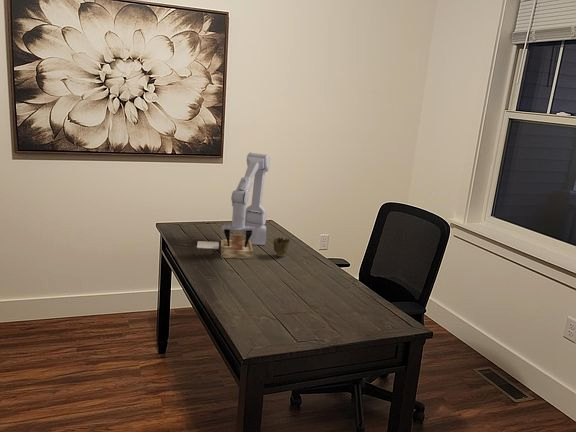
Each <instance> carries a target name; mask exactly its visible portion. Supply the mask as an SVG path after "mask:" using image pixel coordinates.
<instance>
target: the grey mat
mask: <svg viewBox="0 0 576 432" xmlns="http://www.w3.org/2000/svg"><path fill="white" fill-rule="evenodd" d="M219 244H220V242H219V241H203V240H202V241H201V240H200V241H199V240H197V244H196V248H197V249H203V250H204V249H207V250H208V249H210V250H220V249H219V248H220V247H219V246H220V245H219Z"/></svg>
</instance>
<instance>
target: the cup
mask: <svg viewBox="0 0 576 432" xmlns="http://www.w3.org/2000/svg"><path fill="white" fill-rule="evenodd" d="M289 246H290V238H289V239H288V238H285V239H284V238H283V237H275V238H273V250H274V252H275V253H276V256H277V257H278V258H284V257H285V254H286V253H287V252H288V250H289Z"/></svg>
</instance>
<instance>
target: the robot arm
mask: <svg viewBox="0 0 576 432" xmlns="http://www.w3.org/2000/svg"><path fill="white" fill-rule="evenodd" d="M270 162H271V158H270V155H269V154H268V153H267V154H263V153H262V154H261V153H254V152H248V154H247V155H246V165H247V168H246V170H245V171H246V172H245V174H244V177H241V178H240V180H239V183H238V185H237V187H236V189H235V190H233V191H232V192H231V193H232V194H231V197H230V198H231V199H230V201H231V206H232V219H231V224H227V225H226V224H224V225H221V231H222V232H223V234H224V235H225V238H226V239H225V240H227V243H228V247H229V240H230V236H231V235H230V233H231V231H233V232H236V231H238V232H245V239H244V241H245V247H247V243H248V241H251V243H252V245H254V246H255V245H258V246H259V245H260V246H265V245H266V240H267V226H266V225H265V224H266V221H267V210H266V208H265V207H263V206H262V201H263V193H264V192H263V191H264V185H265V184H264V183H265V178H266V177H265V176H266V172H267V173H268V172H269V171H270V170H269V169H270ZM251 190H252V196H251V203H250V204H251V205H249V206H247V204H248V202H249V198H250V191H251Z"/></svg>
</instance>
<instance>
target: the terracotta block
mask: <svg viewBox="0 0 576 432" xmlns="http://www.w3.org/2000/svg"><path fill="white" fill-rule="evenodd" d="M231 240H232V250H242V245H243V240H244V237H243V234H238V233H237V234H235V233H232V238H231Z"/></svg>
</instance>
